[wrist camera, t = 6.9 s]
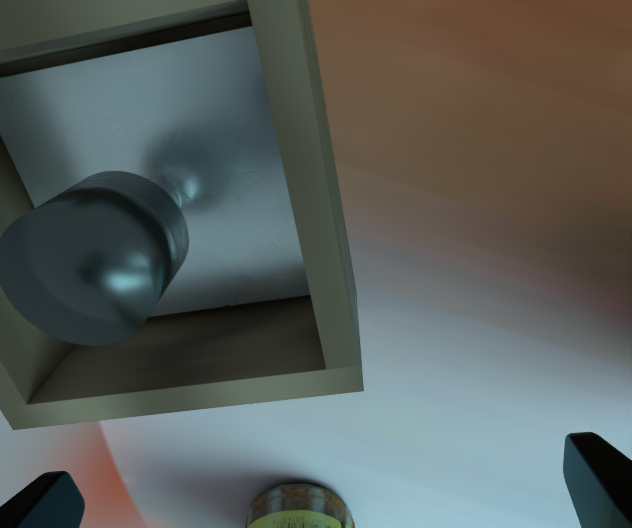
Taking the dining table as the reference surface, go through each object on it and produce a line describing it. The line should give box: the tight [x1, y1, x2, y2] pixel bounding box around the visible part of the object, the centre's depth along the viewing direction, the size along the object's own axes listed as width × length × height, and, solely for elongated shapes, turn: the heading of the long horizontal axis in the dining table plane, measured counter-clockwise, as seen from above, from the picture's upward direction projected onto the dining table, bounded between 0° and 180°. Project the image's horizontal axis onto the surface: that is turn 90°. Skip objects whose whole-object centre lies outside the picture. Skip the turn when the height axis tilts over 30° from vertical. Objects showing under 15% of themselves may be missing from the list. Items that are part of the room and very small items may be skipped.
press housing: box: [0, 0, 364, 430], centre depth 15 cm, size 12×12×6 cm
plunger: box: [0, 26, 310, 346], centre depth 14 cm, size 9×9×7 cm
